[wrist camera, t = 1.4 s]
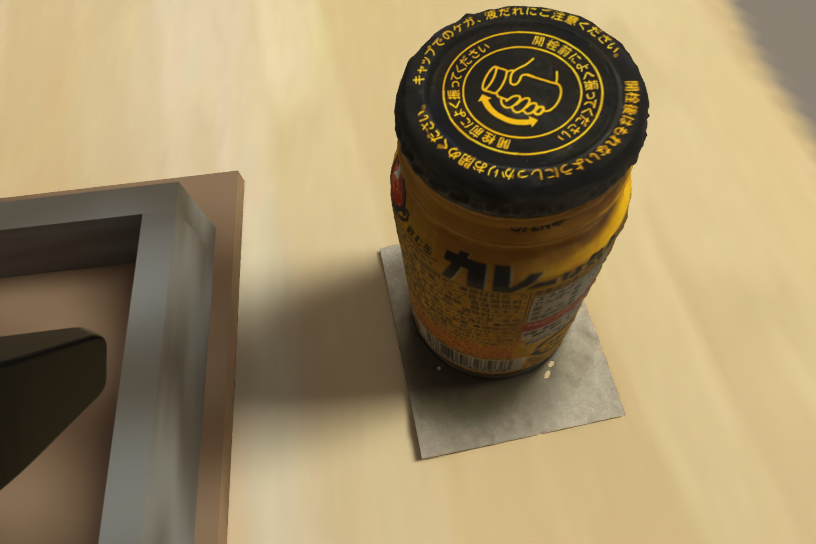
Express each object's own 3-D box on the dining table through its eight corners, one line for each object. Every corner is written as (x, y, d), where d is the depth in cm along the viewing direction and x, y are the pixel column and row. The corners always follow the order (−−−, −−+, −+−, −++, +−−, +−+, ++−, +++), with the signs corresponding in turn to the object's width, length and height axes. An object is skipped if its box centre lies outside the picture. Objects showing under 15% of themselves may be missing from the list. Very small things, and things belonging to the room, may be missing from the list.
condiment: (552, 214, 24) (627, -56, 13) (624, 416, 20) (811, 275, 10) (380, 251, 24) (313, 11, 13) (422, 460, 20) (378, 369, 9)
